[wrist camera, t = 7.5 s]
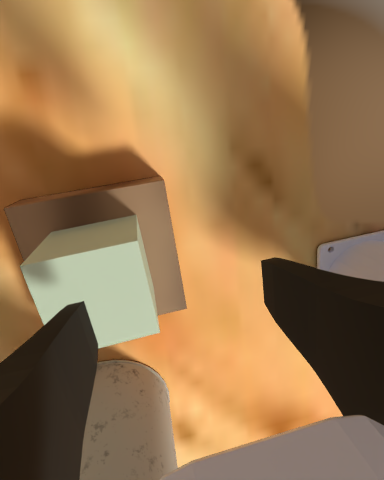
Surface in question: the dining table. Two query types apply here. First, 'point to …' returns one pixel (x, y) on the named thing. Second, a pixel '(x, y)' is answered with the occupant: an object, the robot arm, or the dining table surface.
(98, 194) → the walnut slab
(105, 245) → the sage cube
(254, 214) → the dining table surface
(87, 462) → the grey cylinder
